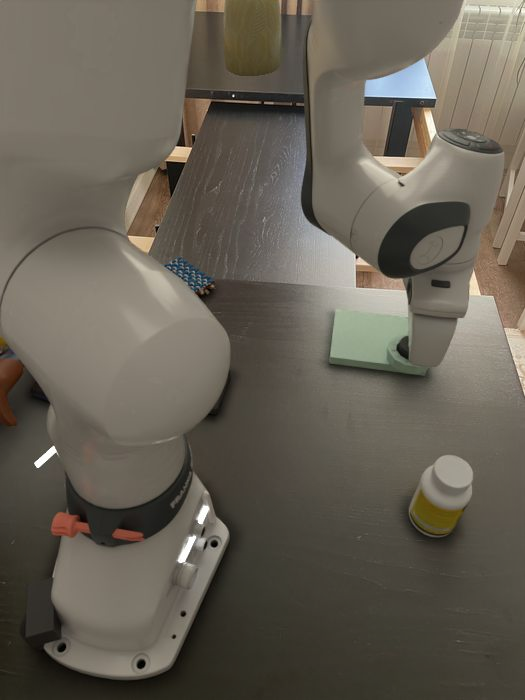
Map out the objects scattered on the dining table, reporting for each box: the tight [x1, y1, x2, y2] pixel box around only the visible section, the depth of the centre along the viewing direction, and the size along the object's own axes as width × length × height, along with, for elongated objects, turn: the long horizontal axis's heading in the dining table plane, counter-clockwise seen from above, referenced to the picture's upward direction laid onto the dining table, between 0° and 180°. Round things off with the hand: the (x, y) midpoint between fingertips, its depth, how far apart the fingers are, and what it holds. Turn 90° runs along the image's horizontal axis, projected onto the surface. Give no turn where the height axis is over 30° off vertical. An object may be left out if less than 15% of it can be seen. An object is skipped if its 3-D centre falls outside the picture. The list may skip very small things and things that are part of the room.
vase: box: [222, 0, 282, 76], centre depth 156 cm, size 17×17×27 cm
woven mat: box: [163, 256, 215, 297], centre depth 91 cm, size 10×11×2 cm
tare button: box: [398, 336, 409, 360], centre depth 77 cm, size 4×4×2 cm
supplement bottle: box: [408, 454, 474, 538], centre depth 59 cm, size 5×5×10 cm
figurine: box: [0, 336, 26, 428], centre depth 77 cm, size 20×10×30 cm
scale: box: [328, 308, 430, 377], centre depth 81 cm, size 12×15×3 cm
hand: (413, 341), depth 76 cm, fingers closed
